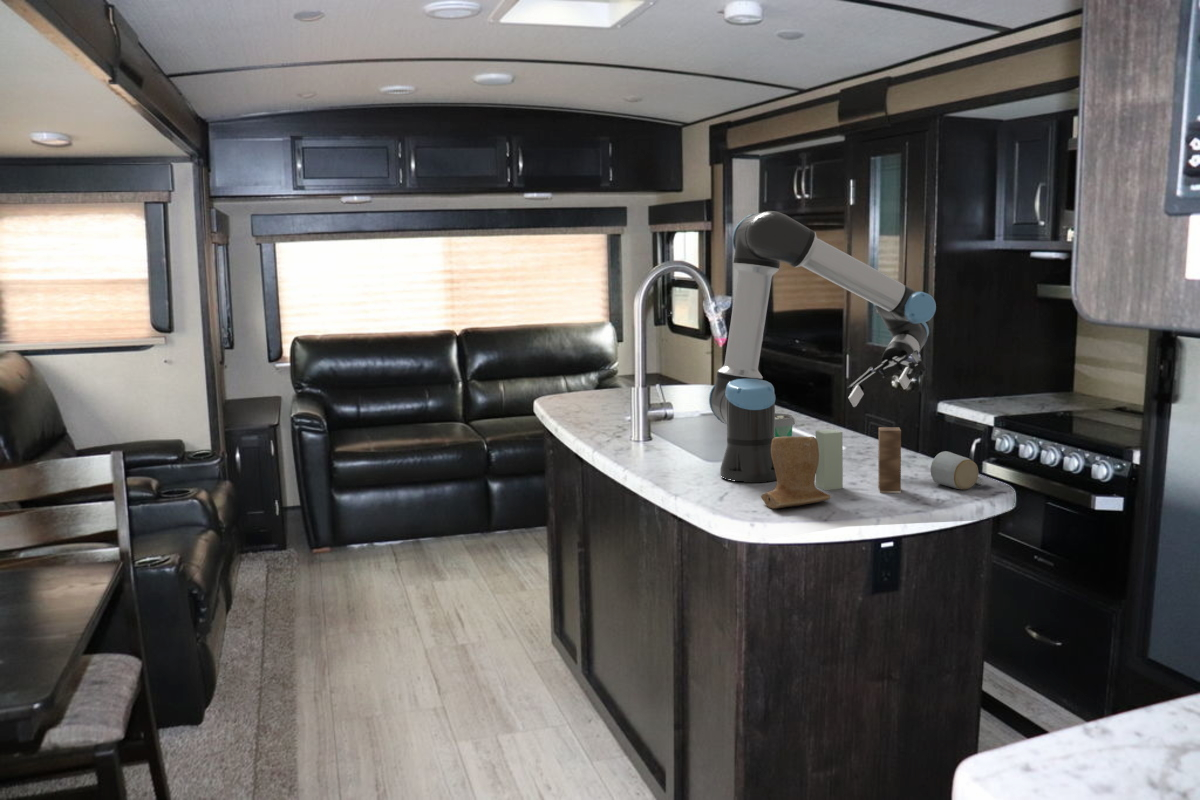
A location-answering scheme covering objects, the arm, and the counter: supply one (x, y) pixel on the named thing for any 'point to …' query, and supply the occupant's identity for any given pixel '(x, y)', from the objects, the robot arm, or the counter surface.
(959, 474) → the ceramic mug
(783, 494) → the cork flared stand
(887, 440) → the walnut block
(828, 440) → the sage block
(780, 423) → the food container
